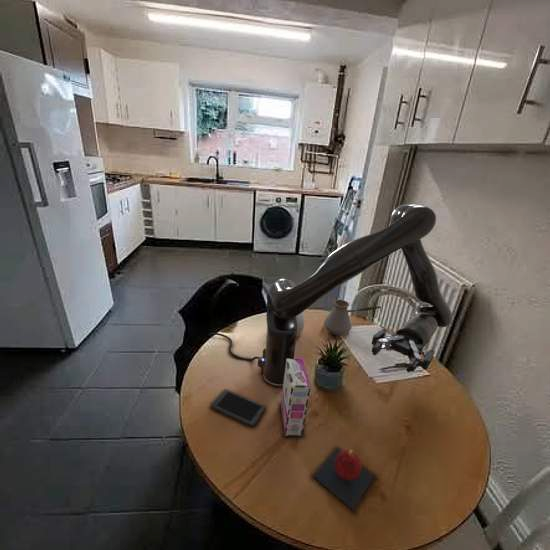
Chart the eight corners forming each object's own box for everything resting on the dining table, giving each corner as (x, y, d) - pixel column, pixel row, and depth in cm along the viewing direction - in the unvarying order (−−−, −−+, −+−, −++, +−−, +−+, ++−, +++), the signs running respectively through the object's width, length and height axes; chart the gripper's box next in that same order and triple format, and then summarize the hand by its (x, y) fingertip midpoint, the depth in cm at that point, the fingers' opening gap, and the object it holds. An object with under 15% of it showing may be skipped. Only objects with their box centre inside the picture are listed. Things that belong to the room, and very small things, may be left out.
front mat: (313, 477, 71) (314, 476, 70) (336, 449, 78) (337, 448, 78) (353, 510, 65) (353, 509, 64) (373, 477, 72) (374, 476, 72)
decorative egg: (273, 324, 130) (275, 292, 125) (302, 326, 130) (306, 294, 125) (271, 341, 119) (274, 306, 113) (303, 343, 119) (308, 309, 113)
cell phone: (224, 390, 93) (224, 388, 93) (265, 408, 88) (266, 406, 88) (210, 407, 87) (209, 405, 87) (253, 427, 82) (253, 425, 81)
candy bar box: (303, 436, 80) (311, 387, 74) (284, 436, 80) (290, 387, 74) (297, 403, 91) (303, 357, 84) (280, 403, 90) (285, 357, 84)
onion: (358, 491, 68) (365, 467, 65) (332, 485, 69) (337, 460, 66) (357, 467, 73) (363, 443, 70) (332, 461, 74) (338, 437, 71)
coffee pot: (320, 333, 126) (325, 301, 121) (325, 320, 136) (330, 290, 131) (374, 347, 121) (382, 313, 115) (375, 332, 131) (382, 300, 125)
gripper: (392, 313, 88) (366, 334, 77) (445, 334, 80) (425, 361, 68) (386, 335, 91) (361, 359, 80) (437, 358, 83) (417, 388, 71)
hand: (390, 360), depth 74 cm, fingers open, 8 cm apart
